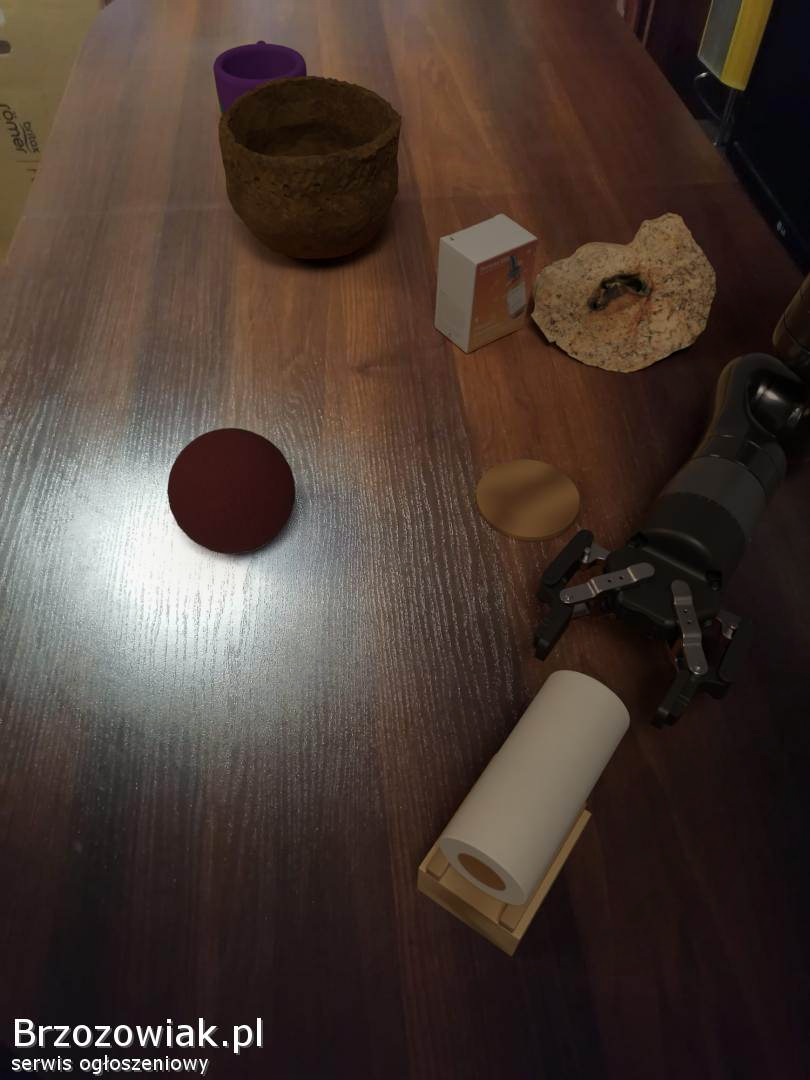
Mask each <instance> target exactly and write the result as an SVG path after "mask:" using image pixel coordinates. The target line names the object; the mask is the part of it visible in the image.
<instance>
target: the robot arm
mask: <svg viewBox="0 0 810 1080" xmlns="http://www.w3.org/2000/svg"><path fill="white" fill-rule="evenodd" d="M771 342H772V343H771V344H772V348H773V351H774V353H775V355H776V356H773V355H771V354H769V353H766V352H763V351H749V352H745V353H742V354H739V355H737V356H736V357H733V359H731V360H730V361H729V362H728V363H727V364H726V365H725V366H724V367H723V368H722V369H721V371H720V373H719V374H718V376H717V377H716V379H715V381H714V383H713V386H712V389H711V393H710V396H709V399H708V404H707V410H706V415H705V422H704V427H703V430H702V434H701V437H700V438H699V441H698V442H697V444H696V445H695V447H694V449H692V451H691V453H690V454H689V456H688V457H687V458H686V460H685V461H684V463H683V464H682V466H681V467H680V468H679V470H678V471H677V472H676V473H675V474H674V475H673V476H671V478H670V479H669V480H668V481H667V482H666V484H664V486H663V488H662V489H661V490H660V492H659V494H658V495H657V496H656V497H655V499H654V501H653V502H652V504H651V505H650V506H649V508H648V509H647V511H646V512H645V513H644V515H643V517H642V518H641V519H640V521H639V522H638V523H637V525H636V527H635V528H634V529H633V531H632V532H631V534H630V536H629V537H628V538H627V540H626V541H625V542H624V544H623V545H622V546H621V547H619V548H617V549H614V550H612V551H611V550H608V549H606V548H605V547H603V546H602V545H600V544H598V543H596V542H594V538H595V535H594V532H593V531H591V530H589V529H586V528H582V529H580V530H578V532H577V533H576V534H574V536H573V537H572V538H571V539H570V541H569V542H568V543H567V544H566V545H565V546H564V547H563V549H562V550H561V551H560V552H559V553H558V555H557V556H555V558H554V559H553V560H552V561H551V562H550V564H549V565H548V566H547V567H546V568H545V570H543V571H542V573H541V576H540V580H539V584H538V588H537V592H536V599H537V601H538V602H540V604H541V603H542V604H545V605H547V606H548V607H549V610H548V611H547V612H546V614H545V615H544V617H543V618H542V620H541V621H540V622H539V624H538V625H537V627H536V628H535V631H534V634H533V639H532V644H531V647H533V648H534V649H535V650H534V651H535V652H534V655H533V656H534V658H536V659H537V660H539V661H541V662H542V663H544V662H545V661H546V660H547V659H548V657H549V655H550V654H551V653H552V651H553V650H554V648H555V647H556V645H557V644H558V643H559V641H560V639H561V638H562V636H563V635H564V634H565V632H566V631H567V629H568V628H569V625H570V622H572V621H575V620H579V619H582V618H583V619H584V618H587V617H588V618H589V619H595V618H600V617H603V616H606V615H610V614H613V615H614V616H615V618H614V620H615V621H617V622H619V623H621V624H622V625H625V626H629V627H631V628H635V629H637V630H638V632H640V633H641V634H643V635H644V636H645V637H647V638H649V639H651V640H653V641H654V642H657V640H663V641H664V643H665V647H666V652H667V655H668V659H669V662H670V663H671V664H673V668H674V671H675V675H676V677H675V679H674V681H673V682H672V684H671V685H670V687H669V689H668V691H667V693H666V694H665V696H664V698H663V699H662V701H661V704H660V705H659V707H658V708H657V711H656V712H655V714H654V715H653V717H652V720H651V722H650V724H649V725H650V726H653V728H656V729H657V730H659V731H660V730H661V729H662V727H663V725H664V724H665V725H667V726H669V727H673V726H675V725H676V724H677V723H679V720H680V719H681V717H682V716H683V713H684V712H685V710H686V708H687V707H688V704H689V703H690V701H691V700H692V697H693V696H694V694H696V693H701V692H702V693H706V694H709V696H710V697H711V698H712V699H714V700H718V701H720V700H721V701H722V700H724V699H726V697H727V695H728V693H729V692H730V689H731V687H732V686H733V685H734V684H735V683H736V681H737V680H738V677H739V675H740V673H741V671H742V668H743V665H744V664H745V661H746V659H747V656H748V654H749V652H750V650H751V647H752V644H753V642H754V640H755V637H756V635H757V632H758V630H759V628H760V625H761V620H760V618H759V616H757V615H756V614H754V613H751V612H746V613H744V614H743V615H742V616H738V615H736V614H734V613H733V612H730V611H727V610H725V609H724V608H721V601H720V598H721V596H722V594H723V592H724V591H725V589H726V587H727V585H728V583H730V580H731V578H732V577H733V574H735V572H736V569H737V568H738V566H739V564H740V563H741V561H742V559H743V558H744V557H745V556H746V554H747V553H748V552H749V547H750V545H751V544H752V541H753V540H754V539H755V536H756V534H757V532H758V529H759V527H760V524H761V521H762V518H763V515H764V514H765V512H766V510H767V508H768V506H769V504H770V503H771V501H772V500H773V498H774V496H775V494H776V493H777V491H778V489H779V488H780V485H781V484H782V482H783V480H784V478H785V475H786V472H787V468H788V464H801V463H806V462H808V461H810V270H808V272H807V274H806V276H805V277H804V278H803V280H802V282H801V283H800V285H799V287H798V288H797V289H796V291H795V293H794V294H793V296H792V297H791V299H790V301H789V303H788V304H787V306H786V308H785V309H784V311H783V313H782V314H781V316H780V318H779V319H778V320H777V323H776V324H775V327H774V330H773V332H772V339H771ZM593 567H600V568H602V574H601V575H597V576H594V577H592V578H591V579H589V580H588V581H587V582H585V583H582V584H578V585H574V586H571V587H566V585H568V583H569V582H570V580H572V578H573V577H574V576H575V575H576V573H577V572H580V573H584V572H586V571H589V570H590V569H592V568H593ZM712 626H713V627H715V628H716V629H717V631H718V635H717V639H718V641H719V642H720V643H719V644H720V646H721V647H722V648H725V649H724V651H723V653H722V655H721V658H720V659H719V662H718V664H717V666H714V665H710V664H708V663H707V660H706V656H705V653H704V649H703V646H702V639H703V637H702V636H703V635H702V630H705V629H708V628H710V627H712Z"/></svg>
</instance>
